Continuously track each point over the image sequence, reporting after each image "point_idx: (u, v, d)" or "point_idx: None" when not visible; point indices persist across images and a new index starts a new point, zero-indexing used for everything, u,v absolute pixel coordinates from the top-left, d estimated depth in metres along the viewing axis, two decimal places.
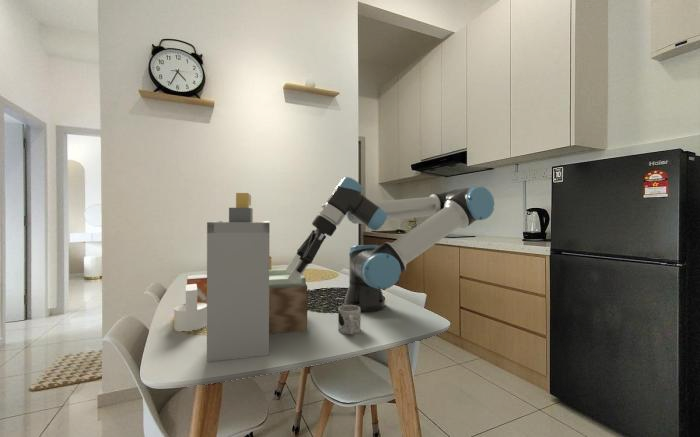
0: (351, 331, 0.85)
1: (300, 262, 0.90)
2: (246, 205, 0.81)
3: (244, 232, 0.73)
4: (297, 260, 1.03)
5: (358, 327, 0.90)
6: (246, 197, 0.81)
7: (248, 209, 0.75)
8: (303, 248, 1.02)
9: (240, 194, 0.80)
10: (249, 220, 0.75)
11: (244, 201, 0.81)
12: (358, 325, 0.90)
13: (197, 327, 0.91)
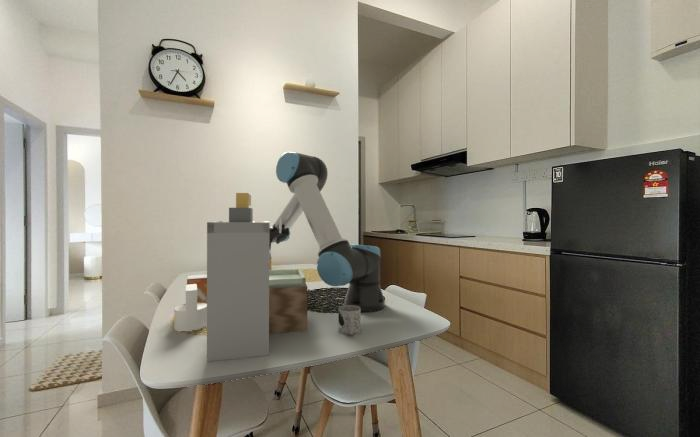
0: (351, 331, 0.85)
1: None
2: (246, 205, 0.81)
3: (244, 232, 0.73)
4: None
5: (358, 327, 0.90)
6: (246, 197, 0.81)
7: (248, 209, 0.75)
8: (275, 234, 1.16)
9: (240, 194, 0.80)
10: (249, 220, 0.75)
11: (244, 201, 0.81)
12: (358, 325, 0.90)
13: (197, 327, 0.91)
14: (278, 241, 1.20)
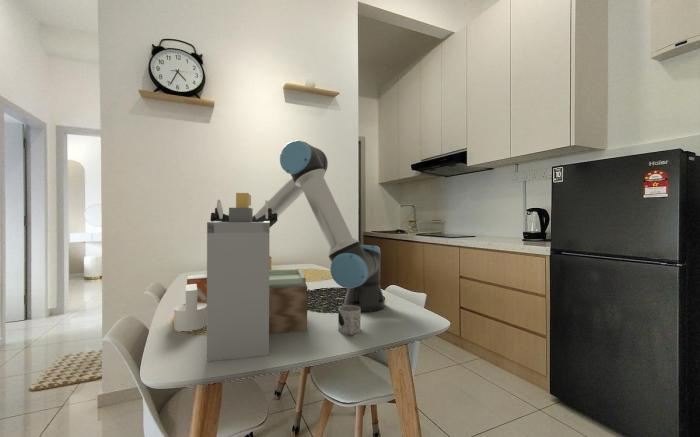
0: (351, 331, 0.85)
1: None
2: (246, 205, 0.81)
3: (244, 232, 0.73)
4: None
5: (358, 327, 0.90)
6: (246, 197, 0.81)
7: (248, 209, 0.75)
8: (261, 221, 1.00)
9: (240, 194, 0.80)
10: (249, 220, 0.75)
11: (244, 201, 0.81)
12: (358, 325, 0.90)
13: (197, 327, 0.91)
14: None
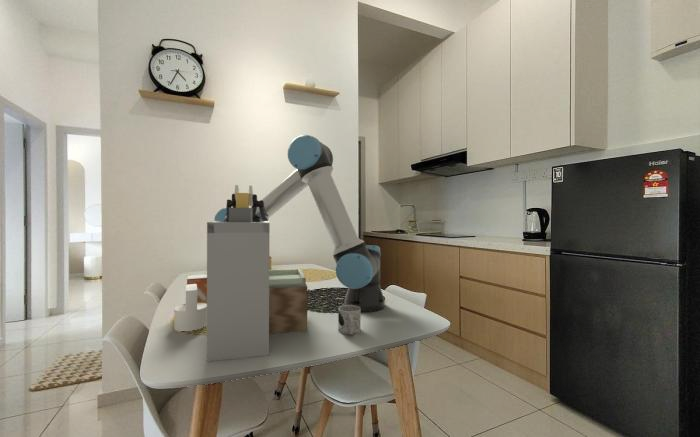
0: (351, 331, 0.85)
1: None
2: (246, 205, 0.81)
3: (244, 232, 0.73)
4: None
5: (358, 327, 0.90)
6: (246, 197, 0.81)
7: (248, 209, 0.75)
8: None
9: (240, 194, 0.80)
10: (249, 220, 0.75)
11: (244, 200, 0.81)
12: (358, 325, 0.90)
13: (197, 327, 0.91)
14: (264, 219, 0.98)
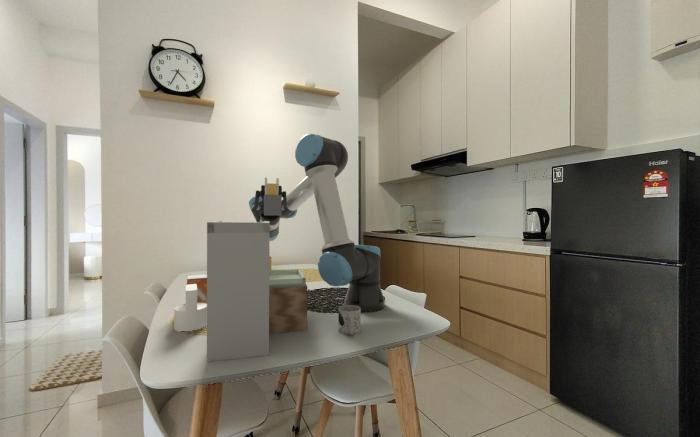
0: (351, 331, 0.85)
1: (264, 193, 1.05)
2: (276, 193, 0.97)
3: (244, 232, 0.73)
4: None
5: (358, 327, 0.90)
6: (275, 187, 0.97)
7: (279, 196, 0.92)
8: None
9: (270, 184, 0.97)
10: (280, 205, 0.92)
11: (274, 190, 0.97)
12: (358, 325, 0.90)
13: (197, 327, 0.91)
14: (285, 208, 1.14)
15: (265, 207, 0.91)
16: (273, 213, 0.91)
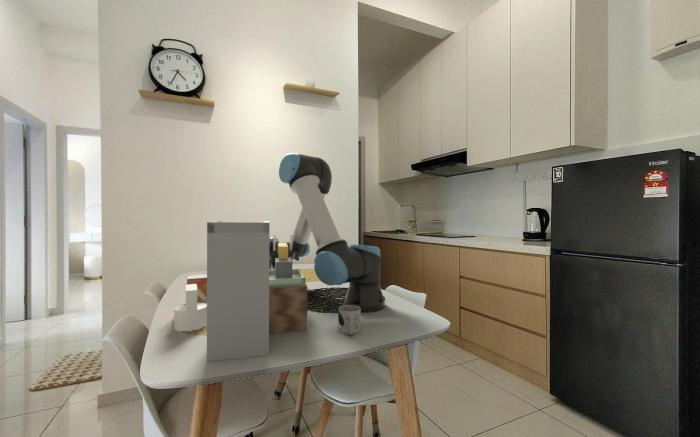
0: (351, 331, 0.85)
1: (273, 248, 1.07)
2: (287, 256, 1.00)
3: (244, 232, 0.73)
4: None
5: (358, 327, 0.90)
6: (286, 250, 0.99)
7: (290, 262, 0.94)
8: (288, 252, 1.12)
9: (282, 247, 0.99)
10: (291, 271, 0.94)
11: (285, 253, 0.99)
12: (358, 325, 0.90)
13: (197, 327, 0.91)
14: (296, 258, 1.17)
15: (276, 274, 0.93)
16: None
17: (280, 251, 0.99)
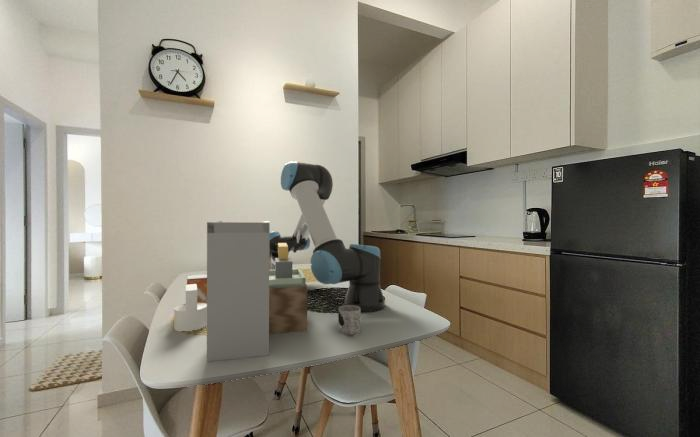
0: (351, 331, 0.85)
1: None
2: (287, 256, 1.00)
3: (244, 232, 0.73)
4: None
5: (358, 327, 0.90)
6: (286, 250, 0.99)
7: (290, 262, 0.94)
8: (293, 244, 1.26)
9: (282, 247, 0.99)
10: (291, 271, 0.94)
11: (285, 253, 0.99)
12: (358, 325, 0.90)
13: (197, 327, 0.91)
14: (295, 250, 1.31)
15: (276, 274, 0.93)
16: None
17: (280, 251, 0.99)
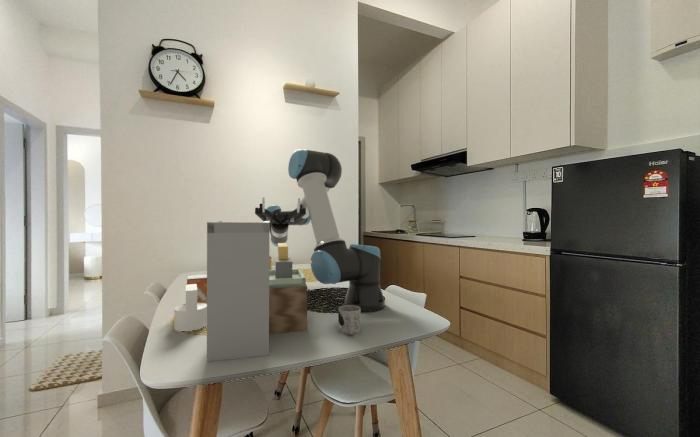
0: (351, 331, 0.85)
1: (262, 210, 1.22)
2: (287, 256, 1.00)
3: (244, 232, 0.73)
4: (297, 207, 1.25)
5: (358, 327, 0.90)
6: (286, 250, 0.99)
7: (290, 262, 0.94)
8: (293, 214, 1.28)
9: (282, 247, 0.99)
10: (291, 271, 0.94)
11: (285, 253, 0.99)
12: (358, 325, 0.90)
13: (197, 327, 0.91)
14: (295, 221, 1.32)
15: (276, 274, 0.93)
16: None
17: (280, 251, 0.99)
